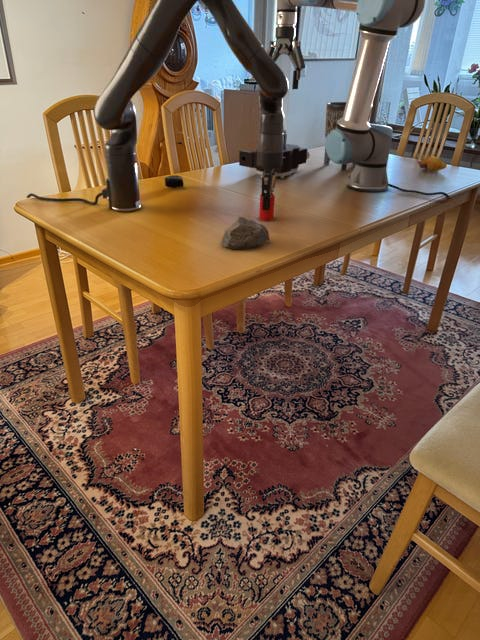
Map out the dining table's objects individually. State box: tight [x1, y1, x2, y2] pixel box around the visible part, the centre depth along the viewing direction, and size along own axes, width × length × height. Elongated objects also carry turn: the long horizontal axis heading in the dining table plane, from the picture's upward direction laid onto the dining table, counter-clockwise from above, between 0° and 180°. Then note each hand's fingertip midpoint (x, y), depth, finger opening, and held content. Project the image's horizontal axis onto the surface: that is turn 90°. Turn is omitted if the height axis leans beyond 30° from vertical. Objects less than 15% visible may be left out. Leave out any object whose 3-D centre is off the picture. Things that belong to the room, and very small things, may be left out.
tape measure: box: [164, 175, 184, 189], centre depth 171 cm, size 7×7×4 cm
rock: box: [221, 216, 270, 250], centre depth 119 cm, size 13×9×6 cm, turn 131°
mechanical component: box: [238, 127, 311, 179], centre depth 191 cm, size 22×21×30 cm
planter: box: [323, 101, 374, 172], centre depth 204 cm, size 20×20×26 cm
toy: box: [417, 156, 448, 172], centre depth 207 cm, size 11×6×15 cm
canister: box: [258, 193, 276, 222], centre depth 139 cm, size 4×4×7 cm
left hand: (267, 206), depth 139 cm, fingers open, 5 cm apart
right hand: (282, 88), depth 185 cm, fingers open, 13 cm apart
